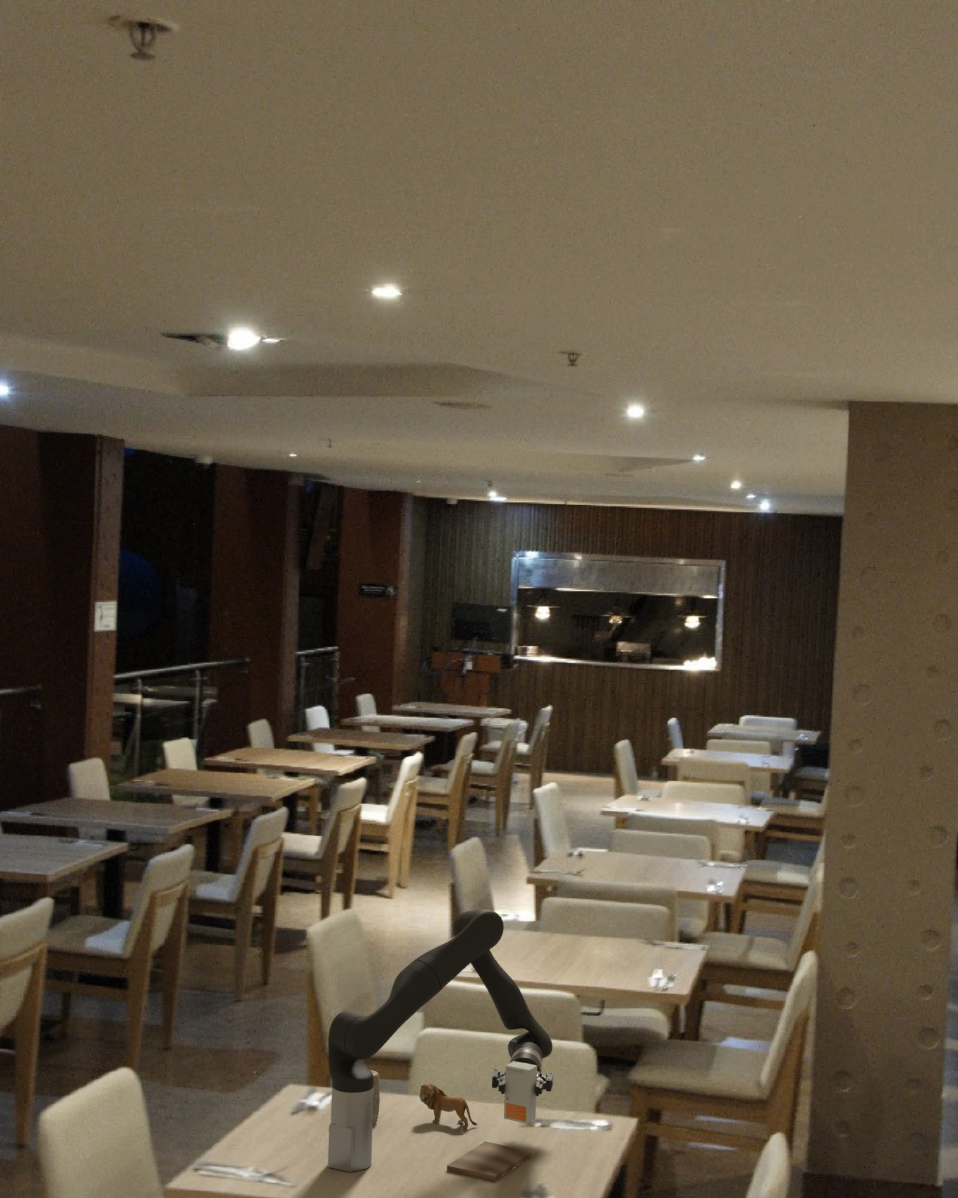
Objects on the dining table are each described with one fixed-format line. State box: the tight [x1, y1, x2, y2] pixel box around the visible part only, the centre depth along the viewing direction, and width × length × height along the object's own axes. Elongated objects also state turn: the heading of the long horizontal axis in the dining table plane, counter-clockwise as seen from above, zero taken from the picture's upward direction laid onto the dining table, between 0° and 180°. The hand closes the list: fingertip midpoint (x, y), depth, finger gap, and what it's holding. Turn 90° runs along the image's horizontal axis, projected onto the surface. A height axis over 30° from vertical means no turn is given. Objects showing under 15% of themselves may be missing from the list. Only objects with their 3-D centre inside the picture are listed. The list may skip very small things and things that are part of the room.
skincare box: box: [503, 1061, 537, 1125], centre depth 346 cm, size 6×4×12 cm
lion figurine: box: [419, 1082, 478, 1130], centre depth 376 cm, size 15×5×9 cm, turn 74°
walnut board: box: [446, 1141, 533, 1183], centre depth 350 cm, size 18×12×1 cm, turn 152°
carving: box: [369, 1069, 381, 1125], centre depth 375 cm, size 6×8×12 cm
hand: (520, 1090), depth 343 cm, fingers closed on skincare box, 7 cm apart
